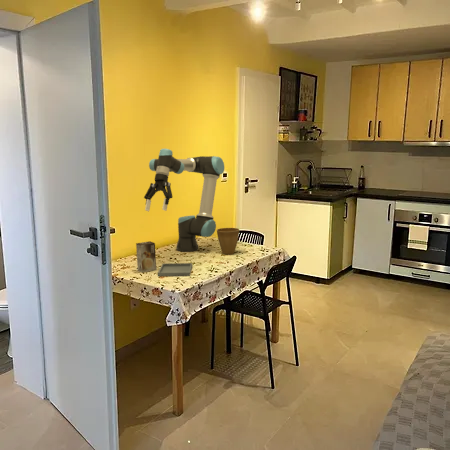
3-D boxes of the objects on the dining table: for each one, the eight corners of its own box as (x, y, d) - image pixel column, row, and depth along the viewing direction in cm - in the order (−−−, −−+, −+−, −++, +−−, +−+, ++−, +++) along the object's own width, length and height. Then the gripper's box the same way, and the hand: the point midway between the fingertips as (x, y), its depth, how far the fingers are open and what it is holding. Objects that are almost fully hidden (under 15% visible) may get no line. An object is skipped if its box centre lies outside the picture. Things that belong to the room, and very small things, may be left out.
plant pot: (240, 250, 305) (240, 227, 303) (238, 256, 291) (238, 231, 288) (218, 250, 307) (218, 227, 304) (215, 255, 292) (215, 231, 290)
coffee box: (151, 267, 266) (150, 240, 263) (156, 269, 261) (155, 242, 258) (137, 270, 261) (135, 243, 258) (142, 272, 256) (140, 245, 253)
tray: (162, 266, 268) (162, 263, 267) (192, 266, 267) (192, 263, 267) (157, 276, 248) (157, 272, 248) (189, 276, 248) (189, 272, 248)
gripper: (142, 174, 265) (135, 209, 261) (173, 171, 250) (167, 207, 246) (151, 178, 271) (144, 212, 266) (182, 175, 256) (176, 211, 252)
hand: (155, 210), depth 256 cm, fingers open, 13 cm apart
